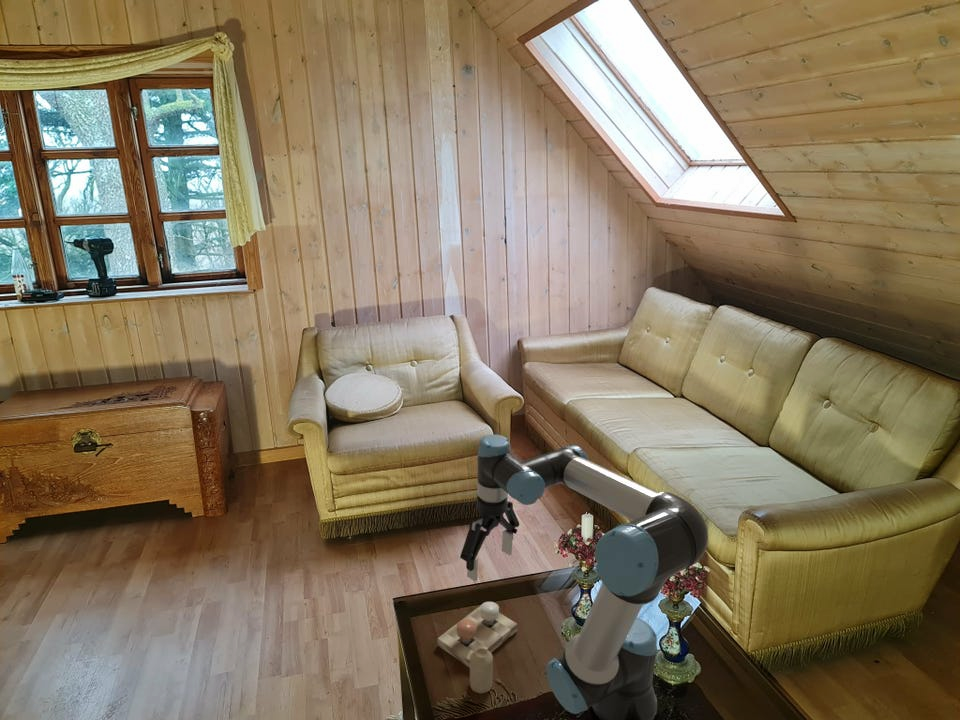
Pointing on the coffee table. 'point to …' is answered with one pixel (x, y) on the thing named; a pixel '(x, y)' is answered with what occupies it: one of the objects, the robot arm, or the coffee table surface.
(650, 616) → the coffee table surface
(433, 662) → the coffee table surface
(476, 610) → the cream compartment tray
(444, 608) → the coffee table surface
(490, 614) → the white round piece
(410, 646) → the coffee table surface
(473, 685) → the cream bottle
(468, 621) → the pink light bulb
